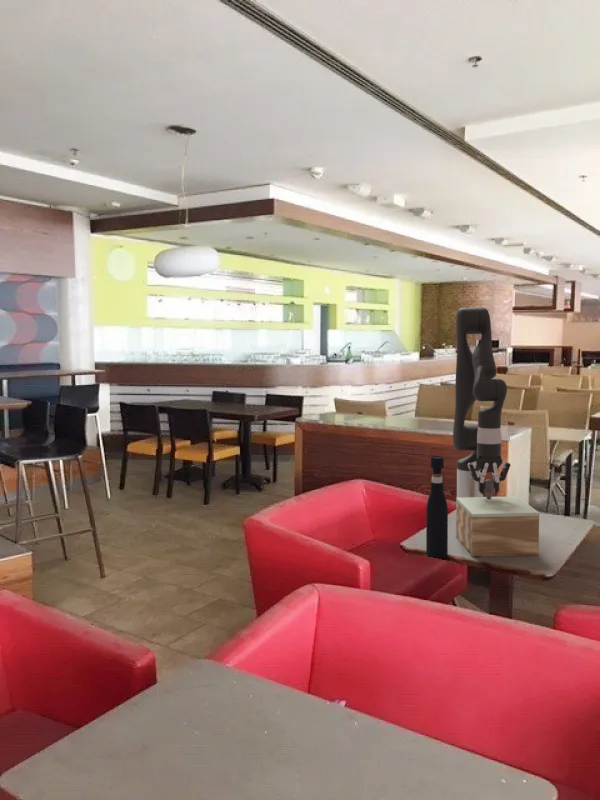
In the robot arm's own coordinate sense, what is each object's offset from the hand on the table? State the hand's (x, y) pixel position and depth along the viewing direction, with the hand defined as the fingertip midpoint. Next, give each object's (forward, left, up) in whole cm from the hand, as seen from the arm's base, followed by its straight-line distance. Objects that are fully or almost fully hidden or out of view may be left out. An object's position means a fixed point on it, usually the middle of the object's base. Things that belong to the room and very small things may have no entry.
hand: (488, 493), depth 224 cm
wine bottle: (+15, -20, -15) cm, 29 cm away
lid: (+8, 0, -3) cm, 8 cm away
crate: (+8, 0, -15) cm, 17 cm away
